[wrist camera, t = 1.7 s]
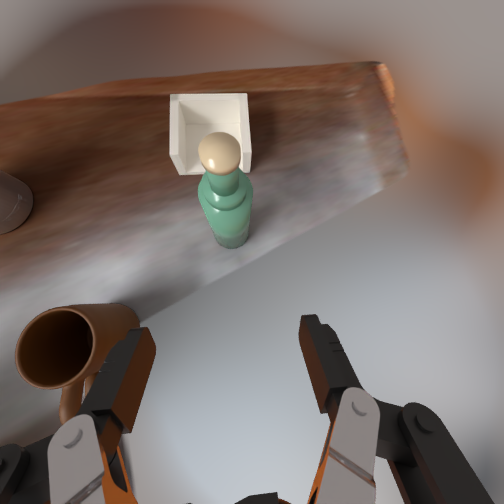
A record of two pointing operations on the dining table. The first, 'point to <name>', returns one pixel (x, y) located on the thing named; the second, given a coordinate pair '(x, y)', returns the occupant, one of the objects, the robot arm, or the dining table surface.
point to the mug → (71, 348)
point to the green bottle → (225, 189)
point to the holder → (206, 127)
